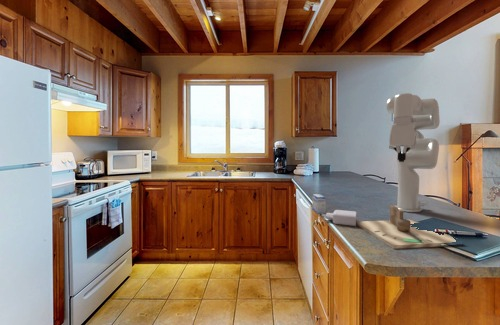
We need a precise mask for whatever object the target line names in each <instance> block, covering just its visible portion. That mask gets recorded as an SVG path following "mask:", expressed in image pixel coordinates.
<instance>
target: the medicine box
mask: <svg viewBox="0 0 500 325" xmlns="http://www.w3.org/2000/svg"><path fill="white" fill-rule="evenodd" d="M311 202H312V204H311V205H312V206H311V207H312V212H315V214H317V215H322V214H326V204H327V201H326V197H325V196H324V195H322V194H321V193H320V194H319V193H314V194H312V201H311Z"/></svg>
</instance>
